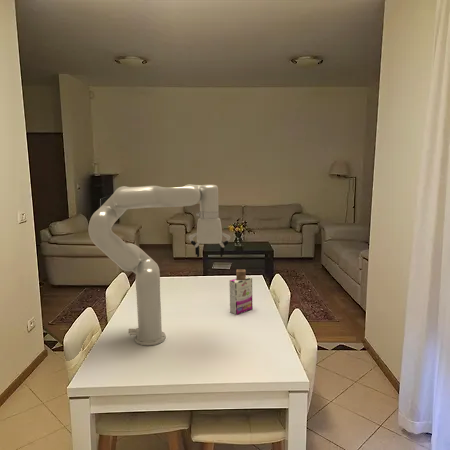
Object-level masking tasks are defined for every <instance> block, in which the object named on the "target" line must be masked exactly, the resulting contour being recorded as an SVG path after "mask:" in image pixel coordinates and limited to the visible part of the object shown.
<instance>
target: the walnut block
mask: <svg viewBox="0 0 450 450" xmlns="http://www.w3.org/2000/svg"><path fill="white" fill-rule="evenodd" d="M235 273H236V278H235V279H236V280H246V276H247V275H246V269H241V268H239V269H238V268H237V269H236V272H235Z"/></svg>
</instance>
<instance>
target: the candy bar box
mask: <svg viewBox="0 0 450 450" xmlns="http://www.w3.org/2000/svg"><path fill="white" fill-rule="evenodd" d="M250 310H253V277H252V276H248V275H246V280H236V278H234V279H230V280H229V311H230V313H231V314H234V315H235V316H238V315H240V314H243V313H246V312H248V311H250Z"/></svg>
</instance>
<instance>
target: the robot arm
mask: <svg viewBox="0 0 450 450" xmlns="http://www.w3.org/2000/svg"><path fill="white" fill-rule="evenodd" d="M198 203H199V212H196V214H195V215H196V217H199V218H198V219H197V225H196V232H195V233H192V234H190V235H189V236H188V237H187V238H188V239H189V242H190V244H192V245H193V246H194V248H195V252H194V253H195V256H196V257H197V258H200V244H202V245H203V244H204V245H205V244H208V245H212V244H213V245H216V244H219V245H220V248H219V249H220V250H219V251H220V258H223V257H224V256H223V255H225V247H227V245H228V244H229V242H230V240H231V235H229V234H227V233H225V232H223V229H222V222H221V218H220V217H219V187H218V185H216V184H202V185H201V184H193V183H192V184H191V183H189V184H185V185H184V186H177V187H176V186H175V187H173V186H172V187H164V186H159V185H144V186H143V185H142V186H127V185H125V186H124V185H122V186H119V187H117V188H116V189H115V191H114V192H113V193H112V194H111V196H110V197H109V198H108V199H107V200H105V202H104V203H103V204H102V205H101V206H99V207H98V209H97V210H96V211H94V212H93V214H92V215H91V217H90V218H89V219H90V220H89V223H88V235H89V236H88V237H89V239H90V240H91V242H92V243H93V244H94V245H95V247H96V248H98V249H99V250H100V251H101V252H102V253H103V254H105V256H106V257H108V259H110V260H111V261H112V262H113V263H114V264H116V265H117V266H118V267H119V268H120V269H121V270H123V271H124V272H132V273H134V275H135V280H134V281H135V291H136V293H135V294H136V307H137V309H136V310H137V327H136V328H128V334H129V336H135V337H134V341H135V343H136V344H138V345H141V346H155V345H159V344H161V343H163V342H164V341H165V340H166V337H167V336H166V333H165V332H164V331H163V329H162V304H161V303H162V302H161V273H160V272H161V271H160V266H159V264H158V263H157V262H156V261H155V260H154V259H153V258H152V257H151V256H149V255H148V253H146V252H145V251H144V250H143V249H142V248H140V246H138V245H136V244H134V243H130V242H128V243H127V242H125V241H124V240H123V239H122V238H121V237H120V236H119V235H117V234H116V233H114V231H113V230H112V228H113V226H114V224H115V223H116V222H117V221H118V219H120V218H121V216H122V215H124V213H125V212H126V211H127V210H132V209H133V210H135V209H146V208H177V207H191V206H195V205H197V204H198ZM195 237H196V241H195V240H194V238H195ZM223 237H224V238H226V239H225V241H224V242H223Z"/></svg>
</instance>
